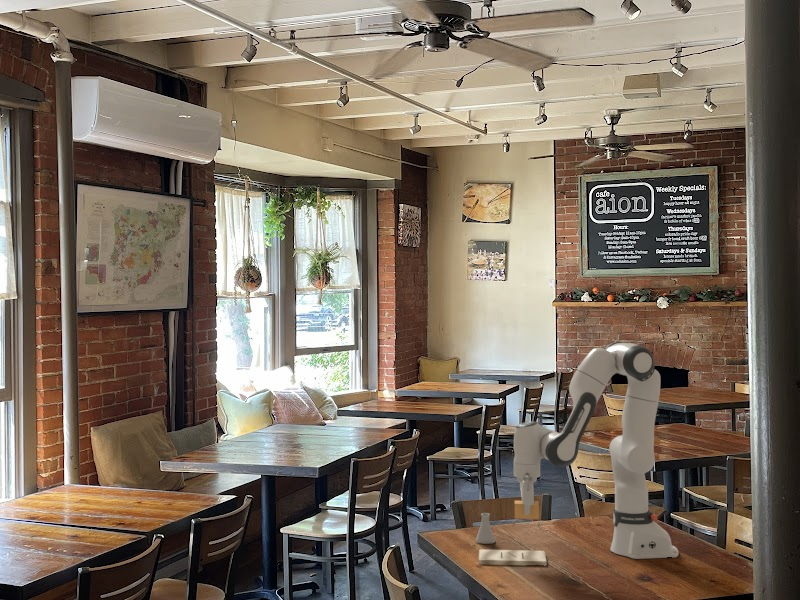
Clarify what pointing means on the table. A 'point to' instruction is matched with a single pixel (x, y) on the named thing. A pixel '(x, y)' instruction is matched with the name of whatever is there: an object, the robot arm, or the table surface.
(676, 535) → the table surface
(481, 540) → the flask
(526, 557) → the birch board
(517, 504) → the block
